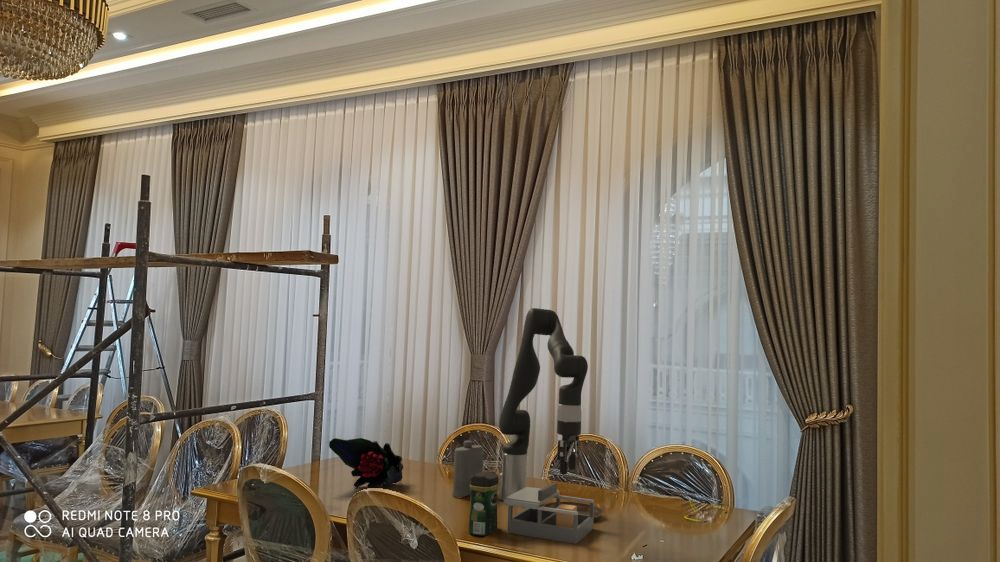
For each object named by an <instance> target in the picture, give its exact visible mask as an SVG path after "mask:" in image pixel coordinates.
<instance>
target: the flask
mask: <svg viewBox="0 0 1000 562" xmlns="http://www.w3.org/2000/svg"><path fill="white" fill-rule="evenodd" d="M473 442H474V441H472V440H464V441H463V446H460V447H456V448H455V449H454V461H453V489H452V497H454V496H455V497H454V498H456V497H464V498H466V497H468V496H467V495H469V496H471V495H470V494H471V491H470V477H471V476H473V475H475V474H478V473H481V472H483V470H484V469H483V464H484V446H482V445H477V444H475V445H474V444H473ZM465 496H466V497H465Z"/></svg>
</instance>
